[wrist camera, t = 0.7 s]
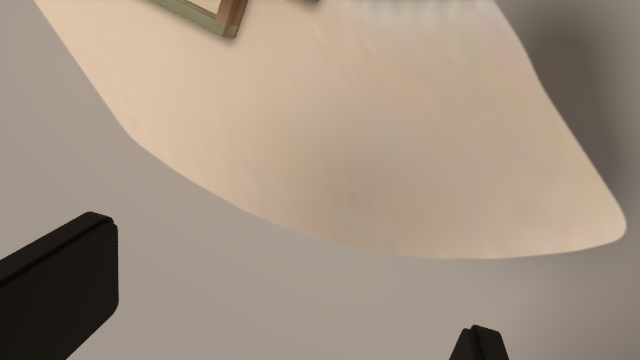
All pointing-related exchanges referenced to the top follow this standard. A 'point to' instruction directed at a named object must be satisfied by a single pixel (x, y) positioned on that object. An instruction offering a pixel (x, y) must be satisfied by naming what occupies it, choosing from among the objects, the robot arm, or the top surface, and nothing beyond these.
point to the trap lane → (210, 14)
